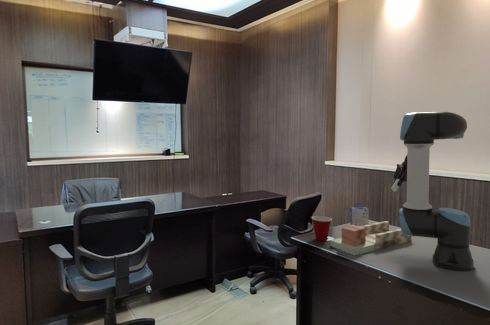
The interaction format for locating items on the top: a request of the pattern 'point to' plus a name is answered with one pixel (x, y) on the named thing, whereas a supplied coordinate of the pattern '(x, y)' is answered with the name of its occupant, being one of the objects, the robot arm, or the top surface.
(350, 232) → the block
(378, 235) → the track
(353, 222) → the ink cartridge box
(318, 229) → the plastic cup
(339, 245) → the pad
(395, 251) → the top surface
